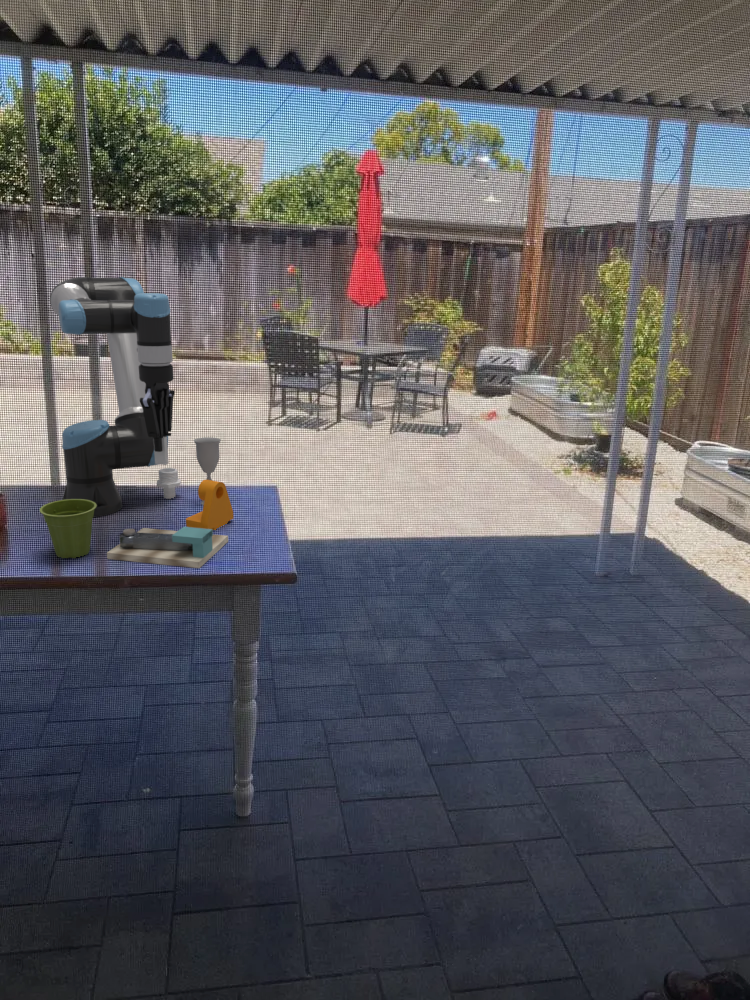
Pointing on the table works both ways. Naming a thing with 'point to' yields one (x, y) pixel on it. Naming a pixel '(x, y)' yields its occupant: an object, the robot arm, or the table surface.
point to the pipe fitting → (168, 481)
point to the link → (152, 542)
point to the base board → (164, 551)
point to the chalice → (207, 454)
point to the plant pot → (70, 526)
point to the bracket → (212, 506)
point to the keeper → (195, 539)
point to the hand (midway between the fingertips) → (161, 463)
